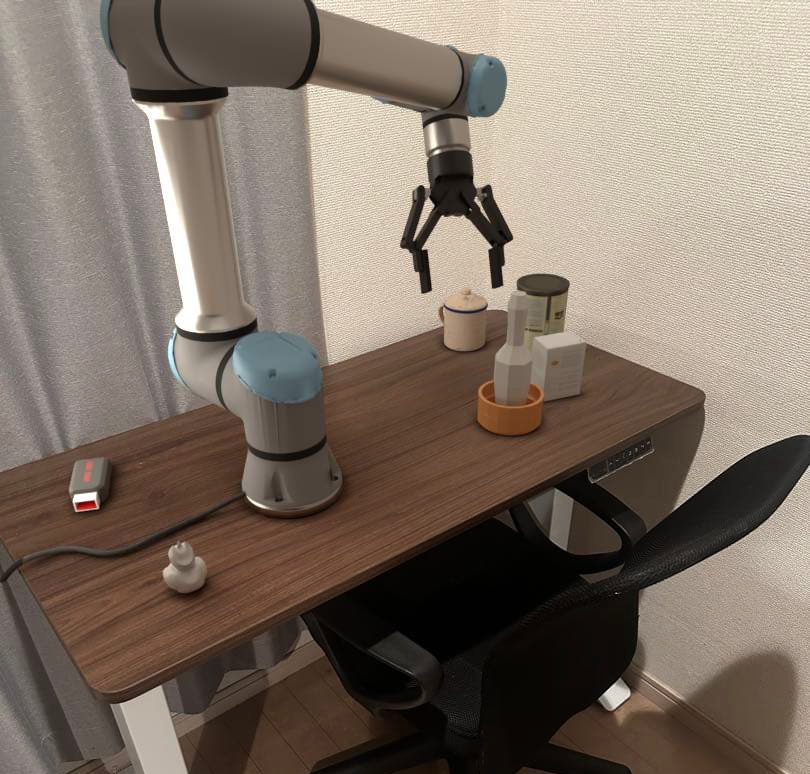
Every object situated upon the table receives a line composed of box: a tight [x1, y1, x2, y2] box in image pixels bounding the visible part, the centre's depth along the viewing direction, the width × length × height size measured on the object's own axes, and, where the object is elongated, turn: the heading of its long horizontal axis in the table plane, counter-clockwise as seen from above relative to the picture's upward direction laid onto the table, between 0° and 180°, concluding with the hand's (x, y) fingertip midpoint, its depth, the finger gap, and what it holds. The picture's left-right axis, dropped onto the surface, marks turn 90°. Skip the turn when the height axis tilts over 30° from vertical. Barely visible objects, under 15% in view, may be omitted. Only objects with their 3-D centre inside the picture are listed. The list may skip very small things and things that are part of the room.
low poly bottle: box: [493, 290, 533, 407], centre depth 125 cm, size 6×6×22 cm
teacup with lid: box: [437, 286, 489, 352], centre depth 156 cm, size 12×9×12 cm
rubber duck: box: [162, 539, 208, 594], centre depth 96 cm, size 5×7×8 cm
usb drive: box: [68, 456, 113, 513], centre depth 116 cm, size 5×12×3 cm, turn 13°
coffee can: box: [516, 273, 571, 355], centre depth 151 cm, size 10×10×14 cm
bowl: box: [476, 379, 545, 436], centre depth 130 cm, size 11×11×6 cm
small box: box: [531, 330, 587, 403], centre depth 137 cm, size 8×6×10 cm
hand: (462, 290), depth 127 cm, fingers open, 13 cm apart
